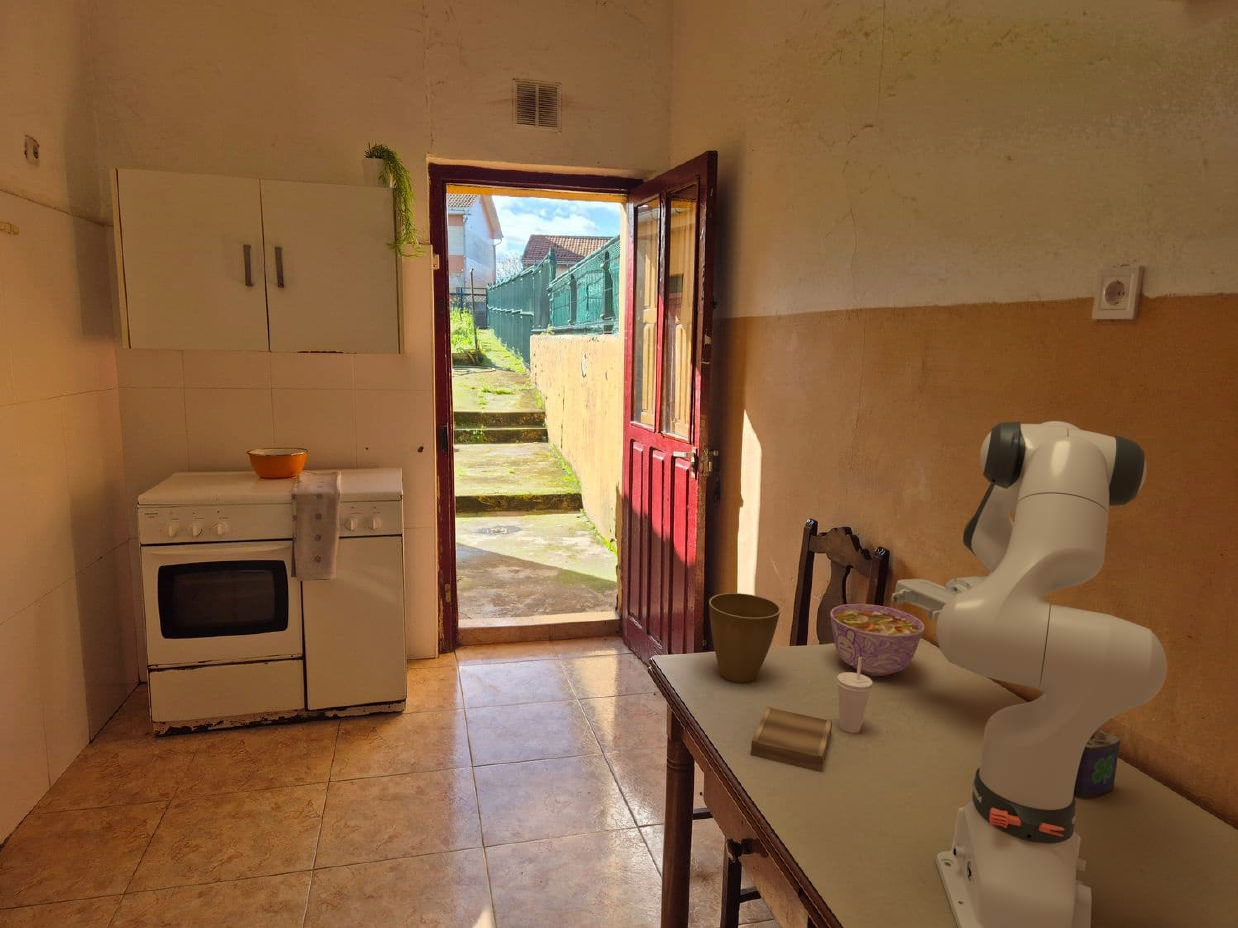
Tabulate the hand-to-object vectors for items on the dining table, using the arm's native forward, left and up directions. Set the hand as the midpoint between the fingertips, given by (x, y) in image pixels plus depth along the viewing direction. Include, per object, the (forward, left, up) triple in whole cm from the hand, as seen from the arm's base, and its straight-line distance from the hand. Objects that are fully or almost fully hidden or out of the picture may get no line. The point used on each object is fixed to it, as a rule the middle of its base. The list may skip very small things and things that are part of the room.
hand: (912, 606), depth 147 cm
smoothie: (-9, +9, -23) cm, 26 cm away
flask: (-13, -30, -23) cm, 40 cm away
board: (-20, +18, -22) cm, 35 cm away
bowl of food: (+22, +7, -23) cm, 32 cm away
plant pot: (+4, +33, -23) cm, 40 cm away
